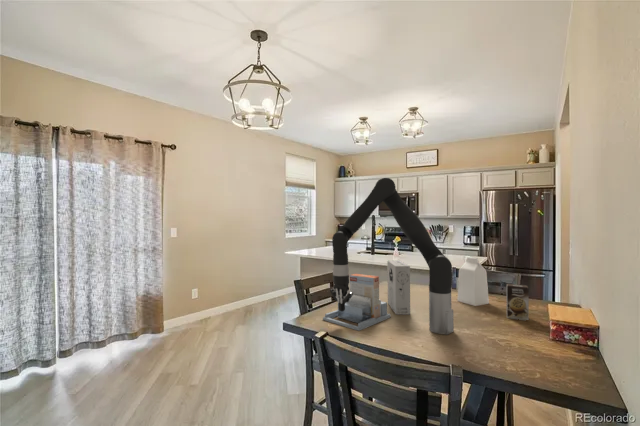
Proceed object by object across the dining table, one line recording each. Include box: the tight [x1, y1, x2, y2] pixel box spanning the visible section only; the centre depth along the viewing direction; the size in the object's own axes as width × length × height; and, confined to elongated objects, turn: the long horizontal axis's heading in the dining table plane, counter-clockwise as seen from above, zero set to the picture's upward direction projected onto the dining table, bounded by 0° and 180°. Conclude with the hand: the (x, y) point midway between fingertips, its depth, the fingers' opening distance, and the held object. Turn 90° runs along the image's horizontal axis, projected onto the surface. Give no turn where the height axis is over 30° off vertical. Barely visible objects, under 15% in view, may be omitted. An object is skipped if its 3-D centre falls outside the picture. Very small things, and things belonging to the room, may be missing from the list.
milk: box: [456, 256, 490, 307], centre depth 186 cm, size 12×12×26 cm
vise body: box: [322, 298, 392, 332], centre depth 157 cm, size 22×26×9 cm
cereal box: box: [386, 259, 411, 315], centre depth 174 cm, size 22×8×25 cm, turn 179°
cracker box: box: [349, 273, 380, 318], centre depth 160 cm, size 14×6×21 cm, turn 51°
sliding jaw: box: [337, 294, 371, 324], centre depth 156 cm, size 19×7×11 cm, turn 46°
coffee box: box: [506, 283, 530, 321], centre depth 157 cm, size 9×6×16 cm
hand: (341, 310), depth 149 cm, fingers closed
